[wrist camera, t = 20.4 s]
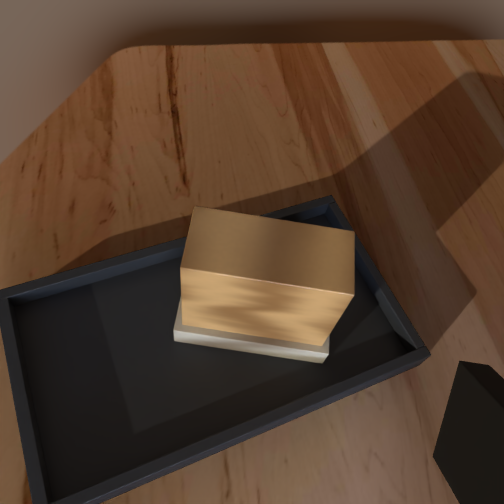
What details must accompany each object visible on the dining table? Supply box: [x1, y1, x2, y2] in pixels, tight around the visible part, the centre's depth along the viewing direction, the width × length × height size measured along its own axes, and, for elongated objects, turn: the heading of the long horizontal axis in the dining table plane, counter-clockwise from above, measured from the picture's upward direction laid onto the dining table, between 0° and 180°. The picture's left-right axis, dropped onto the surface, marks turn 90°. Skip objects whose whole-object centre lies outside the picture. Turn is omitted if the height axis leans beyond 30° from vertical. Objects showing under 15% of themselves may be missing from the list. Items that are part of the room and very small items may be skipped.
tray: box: [0, 195, 431, 504], centre depth 36 cm, size 16×28×2 cm, turn 113°
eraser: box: [173, 206, 355, 363], centre depth 33 cm, size 11×6×10 cm, turn 83°
